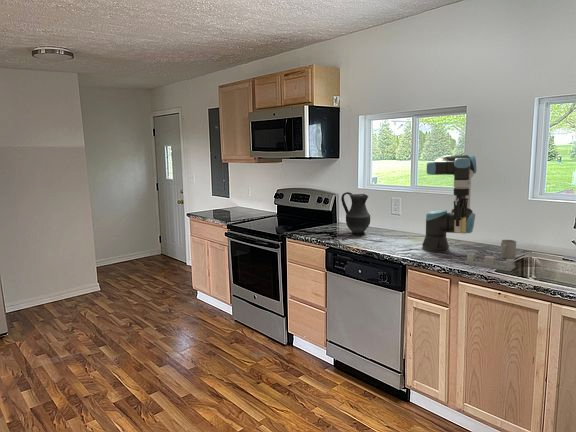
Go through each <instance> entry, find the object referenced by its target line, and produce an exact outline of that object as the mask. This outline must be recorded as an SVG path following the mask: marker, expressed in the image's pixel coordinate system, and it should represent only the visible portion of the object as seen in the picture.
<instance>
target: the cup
mask: <svg viewBox="0 0 576 432" xmlns="http://www.w3.org/2000/svg"><path fill="white" fill-rule="evenodd" d="M500 245H501V246H500V257H501V258H503V259H506V260H507V259H515V258H516V252H517V241H516V240H514V239H502V240H501V242H500Z"/></svg>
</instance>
